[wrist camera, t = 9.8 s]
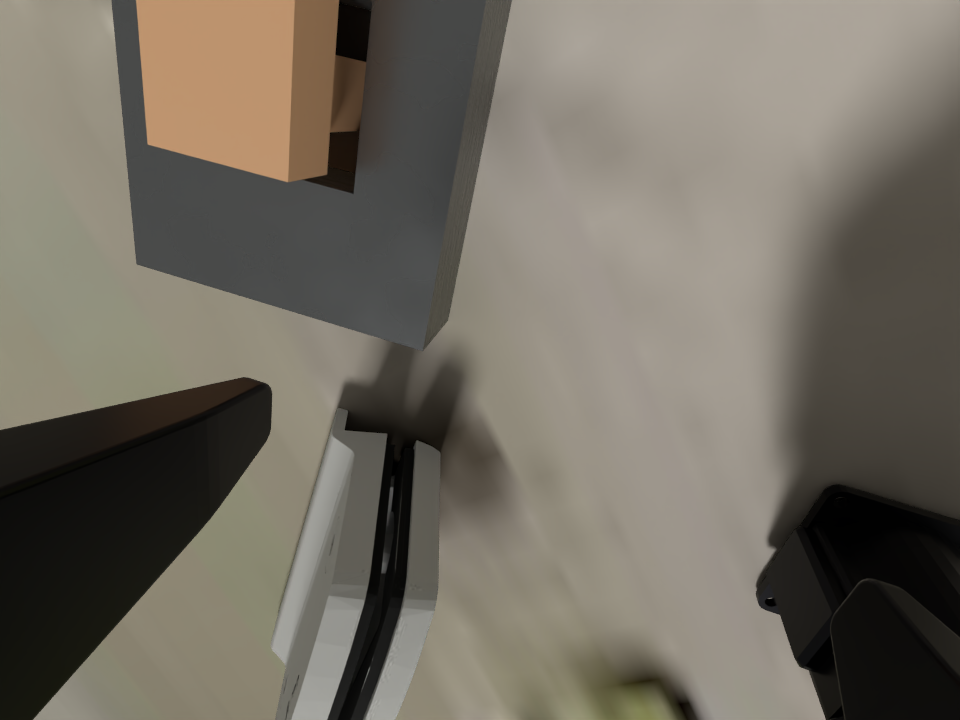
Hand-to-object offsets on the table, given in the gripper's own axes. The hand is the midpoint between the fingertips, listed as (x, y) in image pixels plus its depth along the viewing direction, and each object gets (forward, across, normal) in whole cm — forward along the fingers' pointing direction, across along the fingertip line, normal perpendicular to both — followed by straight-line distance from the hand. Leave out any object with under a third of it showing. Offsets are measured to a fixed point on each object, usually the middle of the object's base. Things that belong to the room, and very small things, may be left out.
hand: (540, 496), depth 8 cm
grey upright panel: (+12, +6, +17) cm, 22 cm away
